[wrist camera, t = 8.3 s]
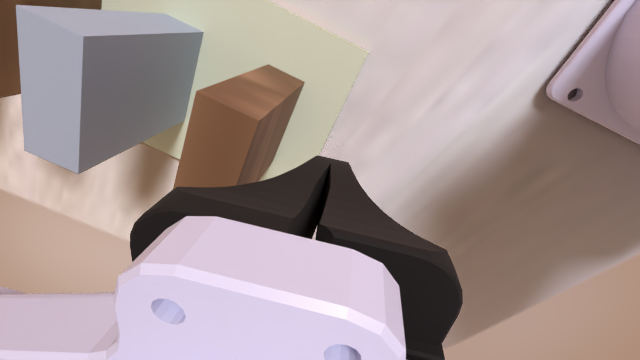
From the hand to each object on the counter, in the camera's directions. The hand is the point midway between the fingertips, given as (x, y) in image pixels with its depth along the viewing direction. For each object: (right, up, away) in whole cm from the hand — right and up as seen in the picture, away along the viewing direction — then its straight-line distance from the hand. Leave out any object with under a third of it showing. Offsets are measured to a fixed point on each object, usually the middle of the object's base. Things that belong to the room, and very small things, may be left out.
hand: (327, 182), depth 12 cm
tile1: (-3, +3, +3) cm, 5 cm away
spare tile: (-7, +5, +3) cm, 9 cm away
